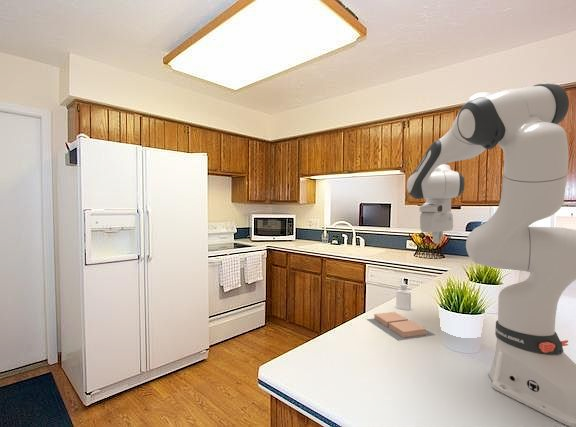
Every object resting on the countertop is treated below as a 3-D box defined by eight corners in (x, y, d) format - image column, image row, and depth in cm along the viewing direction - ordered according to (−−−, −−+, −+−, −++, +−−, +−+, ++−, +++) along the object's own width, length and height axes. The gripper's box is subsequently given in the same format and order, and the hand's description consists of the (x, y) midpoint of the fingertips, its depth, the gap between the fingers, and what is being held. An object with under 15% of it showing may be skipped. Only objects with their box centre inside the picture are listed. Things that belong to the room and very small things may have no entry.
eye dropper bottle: (405, 312, 125) (406, 283, 125) (394, 308, 130) (394, 280, 129) (412, 310, 127) (412, 282, 127) (401, 306, 132) (401, 279, 132)
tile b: (408, 319, 110) (387, 321, 108) (408, 324, 111) (387, 327, 108) (394, 311, 118) (374, 314, 115) (394, 317, 118) (374, 319, 116)
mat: (435, 335, 102) (435, 335, 102) (398, 341, 97) (398, 340, 97) (399, 316, 120) (399, 315, 120) (366, 320, 116) (366, 319, 116)
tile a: (426, 328, 102) (403, 331, 99) (426, 334, 102) (403, 338, 99) (410, 320, 110) (388, 322, 107) (409, 325, 110) (388, 328, 107)
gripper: (441, 207, 125) (440, 240, 125) (417, 207, 112) (416, 244, 112) (457, 207, 120) (457, 242, 120) (434, 207, 107) (433, 246, 107)
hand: (437, 243), depth 116 cm, fingers closed
